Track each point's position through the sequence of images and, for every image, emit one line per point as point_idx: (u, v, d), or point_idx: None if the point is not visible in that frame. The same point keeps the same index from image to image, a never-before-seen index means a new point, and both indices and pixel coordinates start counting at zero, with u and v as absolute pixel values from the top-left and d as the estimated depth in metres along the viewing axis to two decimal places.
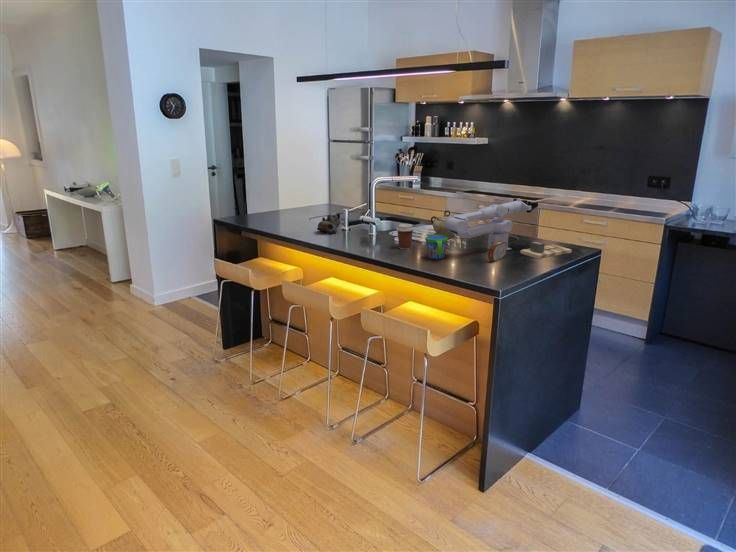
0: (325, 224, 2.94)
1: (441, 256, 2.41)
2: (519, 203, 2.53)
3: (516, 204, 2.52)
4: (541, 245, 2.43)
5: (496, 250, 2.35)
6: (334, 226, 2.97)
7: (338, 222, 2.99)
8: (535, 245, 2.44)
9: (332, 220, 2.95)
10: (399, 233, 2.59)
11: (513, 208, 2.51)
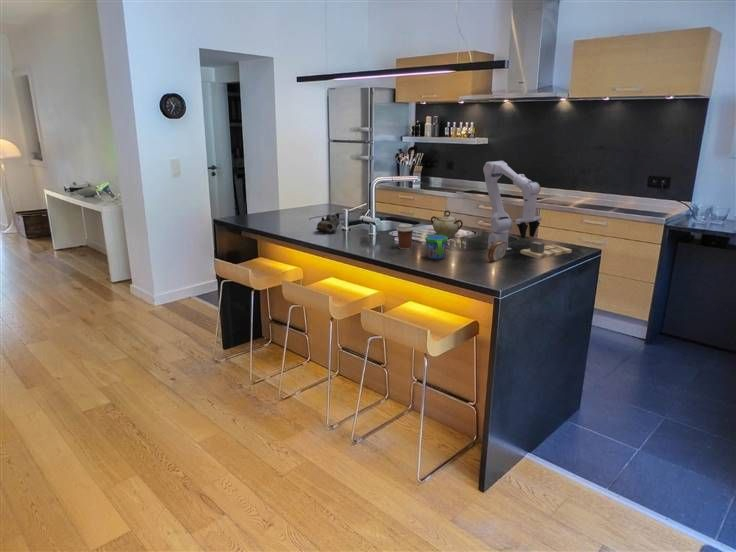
0: (324, 224, 2.94)
1: (441, 256, 2.41)
2: (528, 217, 2.35)
3: (528, 212, 2.35)
4: (541, 245, 2.43)
5: (496, 250, 2.35)
6: (333, 226, 2.97)
7: (337, 222, 3.00)
8: (535, 245, 2.44)
9: (331, 220, 2.96)
10: (399, 233, 2.59)
11: (525, 207, 2.35)
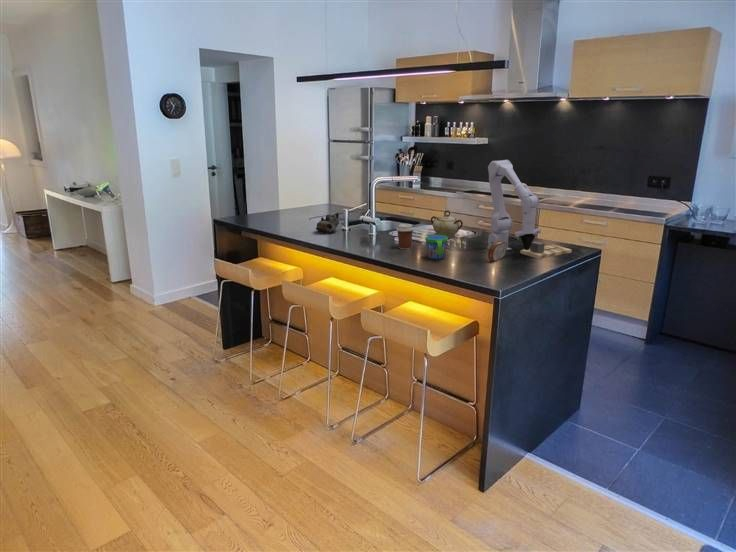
0: (324, 224, 2.95)
1: (441, 256, 2.41)
2: (527, 229, 2.37)
3: (527, 225, 2.37)
4: (541, 245, 2.43)
5: (496, 250, 2.35)
6: (333, 226, 2.98)
7: (337, 222, 3.00)
8: (535, 245, 2.44)
9: (331, 220, 2.96)
10: (399, 233, 2.59)
11: (525, 219, 2.37)
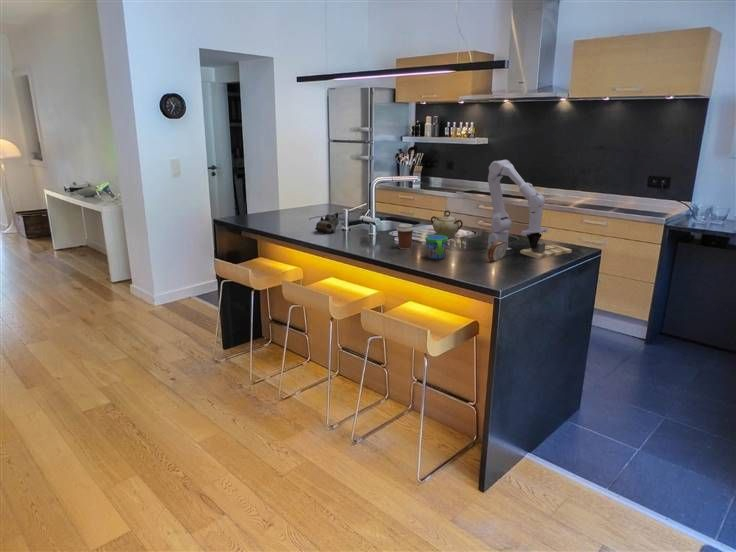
0: (324, 224, 2.95)
1: (441, 256, 2.41)
2: (534, 228, 2.39)
3: (534, 224, 2.38)
4: (542, 245, 2.43)
5: (496, 250, 2.35)
6: (333, 226, 2.98)
7: (336, 222, 3.00)
8: None
9: (331, 220, 2.96)
10: (399, 233, 2.59)
11: (533, 219, 2.38)
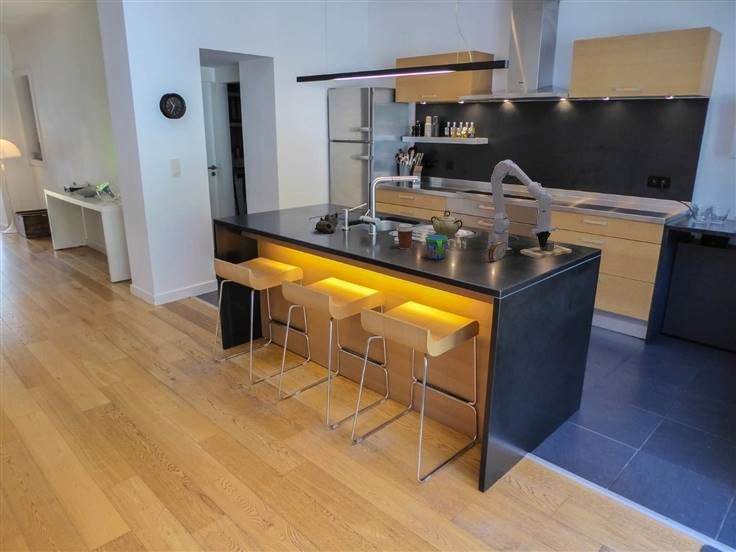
0: (324, 224, 2.95)
1: (441, 256, 2.41)
2: (543, 227, 2.42)
3: (543, 223, 2.41)
4: (551, 243, 2.46)
5: (496, 250, 2.35)
6: (332, 226, 2.98)
7: (336, 222, 3.01)
8: None
9: (330, 220, 2.96)
10: (399, 233, 2.59)
11: (543, 218, 2.40)
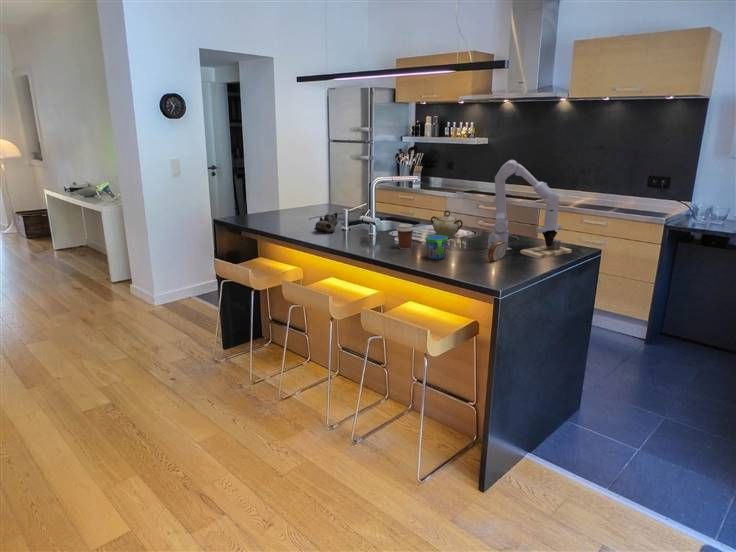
0: (323, 224, 2.95)
1: (441, 256, 2.41)
2: (550, 226, 2.43)
3: (550, 222, 2.43)
4: (557, 242, 2.48)
5: (496, 250, 2.35)
6: (332, 226, 2.98)
7: (336, 222, 3.01)
8: None
9: (330, 220, 2.97)
10: (399, 233, 2.59)
11: (551, 217, 2.42)
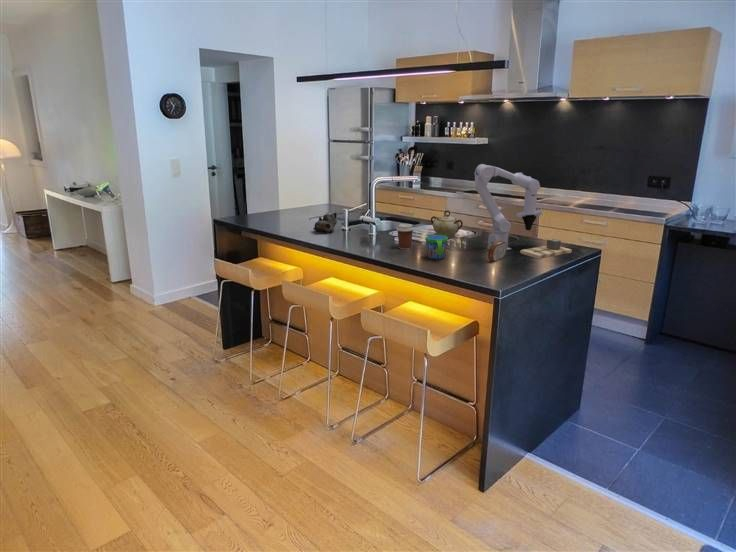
0: (323, 224, 2.95)
1: (441, 256, 2.41)
2: (529, 210, 2.51)
3: (529, 206, 2.50)
4: (557, 242, 2.48)
5: (496, 250, 2.35)
6: (331, 225, 2.99)
7: (335, 221, 3.01)
8: (551, 242, 2.48)
9: (329, 219, 2.97)
10: (399, 233, 2.59)
11: (533, 201, 2.49)
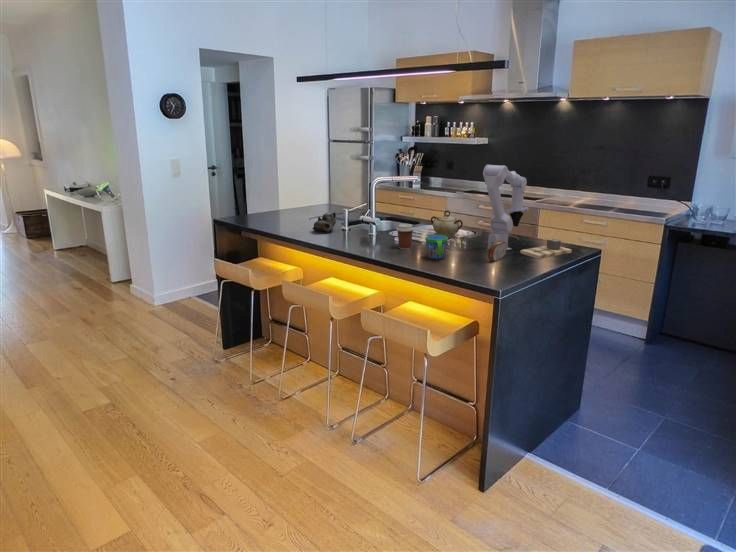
0: (322, 223, 2.96)
1: (441, 256, 2.41)
2: (516, 207, 2.60)
3: (516, 203, 2.59)
4: (557, 242, 2.48)
5: (496, 250, 2.35)
6: (331, 225, 2.99)
7: (334, 221, 3.02)
8: (551, 242, 2.48)
9: (329, 219, 2.97)
10: (399, 233, 2.59)
11: (522, 198, 2.59)
